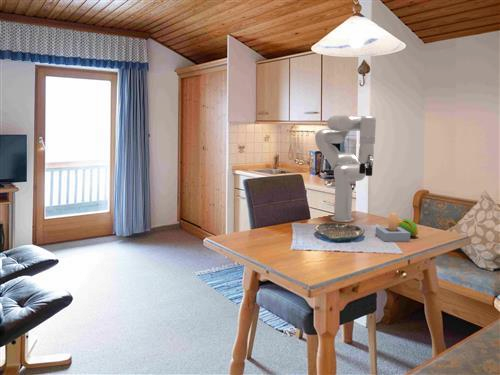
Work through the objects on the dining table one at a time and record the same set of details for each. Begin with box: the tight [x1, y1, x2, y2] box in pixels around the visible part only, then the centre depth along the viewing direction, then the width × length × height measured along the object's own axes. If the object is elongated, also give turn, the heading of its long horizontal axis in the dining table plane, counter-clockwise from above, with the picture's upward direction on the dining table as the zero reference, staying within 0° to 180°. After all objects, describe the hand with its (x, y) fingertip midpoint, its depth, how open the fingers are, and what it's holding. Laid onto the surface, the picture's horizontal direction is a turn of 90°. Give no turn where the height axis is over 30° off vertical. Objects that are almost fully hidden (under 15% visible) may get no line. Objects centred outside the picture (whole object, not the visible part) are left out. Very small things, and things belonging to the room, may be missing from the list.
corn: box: [397, 218, 419, 237], centre depth 212 cm, size 7×8×20 cm
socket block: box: [375, 226, 411, 243], centre depth 203 cm, size 12×12×4 cm
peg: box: [387, 212, 399, 232], centre depth 203 cm, size 4×4×12 cm
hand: (365, 174), depth 217 cm, fingers open, 9 cm apart
